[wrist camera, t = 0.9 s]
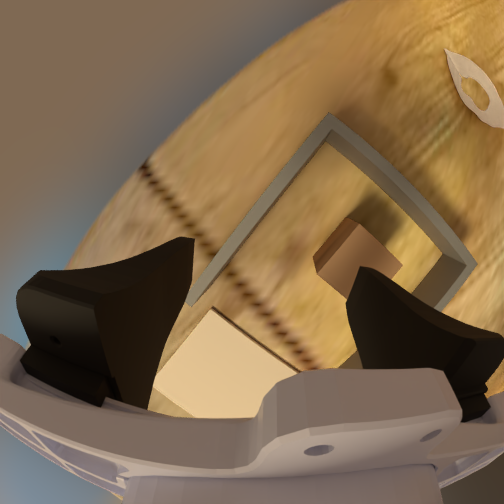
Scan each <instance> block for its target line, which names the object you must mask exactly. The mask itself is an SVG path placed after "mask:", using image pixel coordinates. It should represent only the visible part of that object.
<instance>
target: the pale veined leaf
mask: <svg viewBox="0 0 504 504" xmlns="http://www.w3.org/2000/svg"><path fill="white" fill-rule="evenodd" d="M444 49H445V48H444ZM445 52H446V54H447V60H448V65H449V69H450V72H451V75H452V78H453V81H454V83H455V86H456V88H457V91H458V93H459V95H460V97H461V99H462V101H463V102H464V104H465V105H466V106H467V107H468V108H469V109H471V110H472V111H473V112H474V113H475V114H476V115H477V116H478V117H479V119H480V120H481V121H483V122H485V123H487V124H488V125H490V126H491V127H494V128H495V127H499V128H502V129H504V106H503V103H502V101H501V99H500V97H499V95H498V93H497V90H496V88H495V86H494V85H493V83H492V81H491V80H490V79H489V77H488V76H487V75H486V74H485V72H484V71H483V70H482V69H481V68H480V67H479V66H477V65H476V64H475V63H474V62H473V61H471V60H470V59H468V58H467V57H465V56H463V55H460V54H457V53H454V52H451V51H449V50H447V49H445ZM459 74H460V75H461V76H462V77H465V78H468V77H470V78H473V79H474V80H476V81H477V82H478V83H479V84H480V85H481V86H482V87H483V88H484V89H485V91H486V92H487V94H488V96H489V99H490V103H489V106H488V108H487V110H485V111H482V110H480V109H479V108H478V107H477V106H476V105H475V104H474V102H473V100H472V98H471V97H469V96H468V95H467V94H465V93H464V92H463V90H462V87H461V76H460V75H459Z"/></svg>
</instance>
